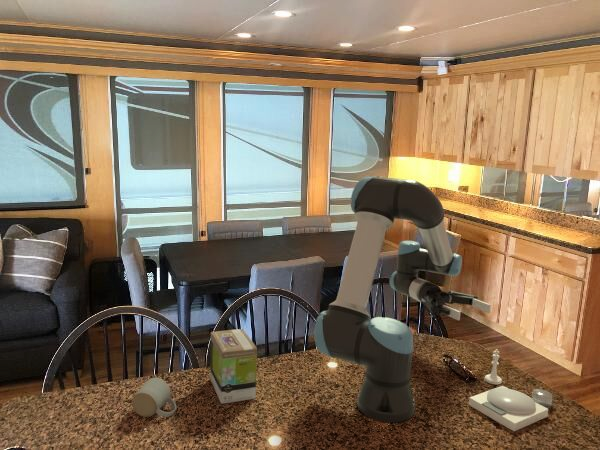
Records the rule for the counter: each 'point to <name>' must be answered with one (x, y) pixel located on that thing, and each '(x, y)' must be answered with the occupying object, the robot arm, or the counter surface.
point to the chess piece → (494, 370)
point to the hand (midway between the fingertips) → (474, 312)
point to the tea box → (233, 365)
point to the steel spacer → (542, 397)
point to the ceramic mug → (153, 398)
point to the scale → (508, 407)
